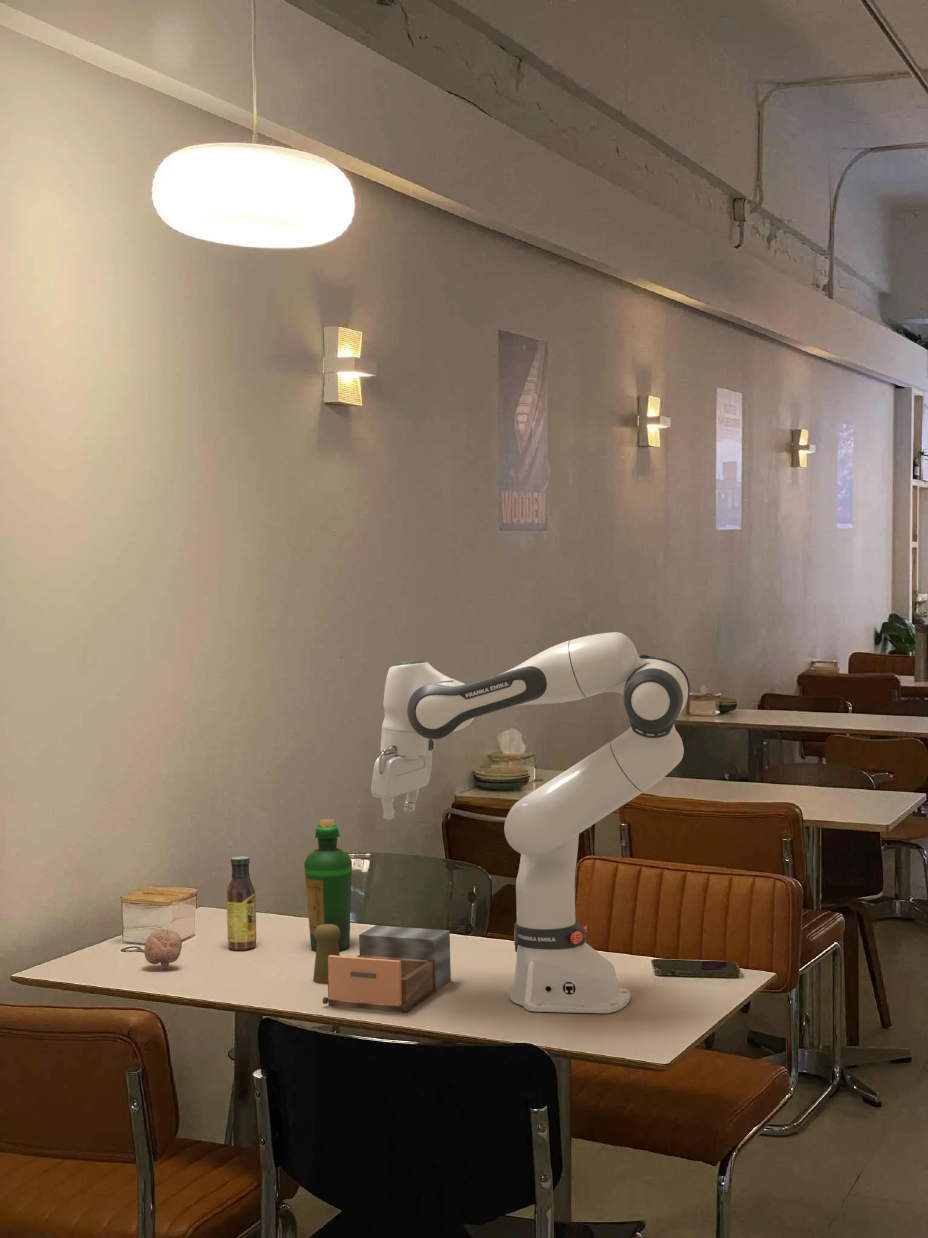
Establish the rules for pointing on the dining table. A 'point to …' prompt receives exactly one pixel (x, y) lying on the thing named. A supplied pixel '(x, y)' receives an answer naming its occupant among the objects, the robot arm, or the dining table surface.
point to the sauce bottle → (241, 907)
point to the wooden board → (365, 980)
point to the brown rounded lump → (163, 947)
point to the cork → (325, 950)
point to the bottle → (329, 884)
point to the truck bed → (406, 963)
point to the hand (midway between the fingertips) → (399, 815)
